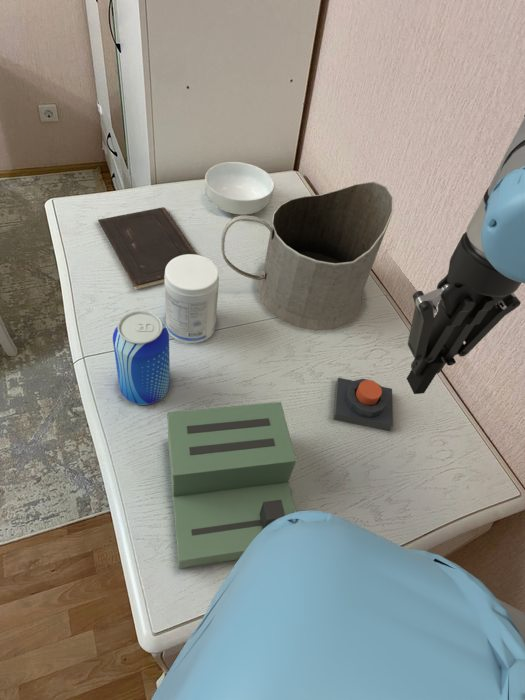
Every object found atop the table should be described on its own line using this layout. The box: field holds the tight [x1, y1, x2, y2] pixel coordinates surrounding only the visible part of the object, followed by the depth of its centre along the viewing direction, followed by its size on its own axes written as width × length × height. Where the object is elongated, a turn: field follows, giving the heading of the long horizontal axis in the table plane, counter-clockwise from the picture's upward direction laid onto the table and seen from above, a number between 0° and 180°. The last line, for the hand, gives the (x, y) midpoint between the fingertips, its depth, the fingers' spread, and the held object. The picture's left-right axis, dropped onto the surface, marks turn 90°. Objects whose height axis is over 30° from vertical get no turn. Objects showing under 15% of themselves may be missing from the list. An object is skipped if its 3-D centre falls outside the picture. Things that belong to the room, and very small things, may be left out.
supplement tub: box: [164, 254, 220, 344], centre depth 92 cm, size 10×10×15 cm
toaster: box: [167, 401, 297, 570], centre depth 72 cm, size 19×17×11 cm
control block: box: [332, 377, 394, 432], centre depth 89 cm, size 8×10×4 cm
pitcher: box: [220, 181, 394, 332], centre depth 98 cm, size 23×32×25 cm
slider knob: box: [260, 500, 285, 529], centre depth 69 cm, size 3×3×4 cm
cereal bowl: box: [204, 161, 275, 216], centre depth 124 cm, size 17×17×7 cm
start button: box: [356, 379, 382, 406], centre depth 87 cm, size 4×4×2 cm
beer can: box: [112, 310, 171, 406], centre depth 81 cm, size 8×8×16 cm
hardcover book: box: [97, 206, 198, 290], centre depth 110 cm, size 16×23×2 cm
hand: (415, 385), depth 69 cm, fingers closed
